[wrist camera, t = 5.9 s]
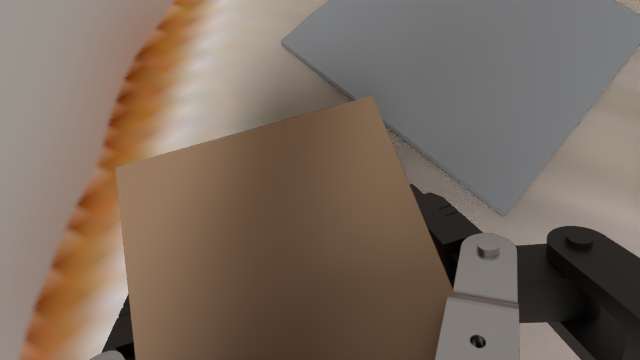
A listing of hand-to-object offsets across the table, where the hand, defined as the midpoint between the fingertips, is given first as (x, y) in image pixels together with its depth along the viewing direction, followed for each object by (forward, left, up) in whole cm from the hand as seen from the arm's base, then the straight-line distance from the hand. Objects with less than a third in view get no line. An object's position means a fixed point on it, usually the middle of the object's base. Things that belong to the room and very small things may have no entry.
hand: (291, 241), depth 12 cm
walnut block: (+1, +1, -5) cm, 5 cm away
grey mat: (-16, -2, -5) cm, 17 cm away
